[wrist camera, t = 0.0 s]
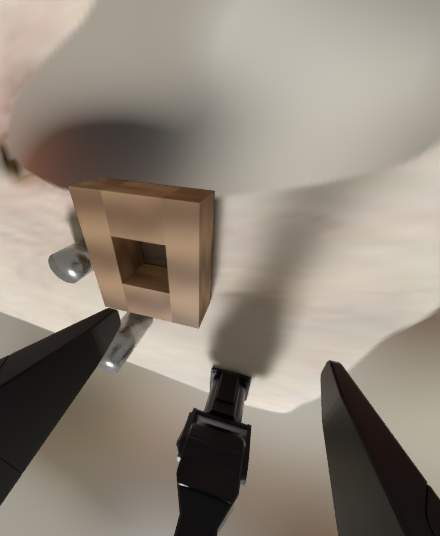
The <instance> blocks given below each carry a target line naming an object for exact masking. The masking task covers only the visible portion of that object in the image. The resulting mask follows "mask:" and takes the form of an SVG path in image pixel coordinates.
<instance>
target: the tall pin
mask: <svg viewBox="0 0 440 536" xmlns="http://www.w3.org/2000/svg"><path fill="white" fill-rule="evenodd" d="M151 324H152V319H151V317H148V316H144V315H140V314H135V313H131V312H127V313H126V314H125V315H124V316H123V317H122V319H121V326H120V328H119V330H118V332H117V334H116V336H115V337H114V339H113V341H112V343H111V344H110V346H109V348H108V350H107V351H106V353H105V355H104V357H103V358H102V360H101V361H100V363H99V364H98V366H97V367H98V368H99V369H101V370H103V371H105V372H108V373H117V372H118V371H119V370H120V368H121V367H122V365H123V364H124V363H125V361H126V360H127V358H128V357H129V356H130V354H131V353H132V351H133V350H134V348H135V347H136V346H137V344H138V343H139V341H140V340H141V338H142V337H143V335H144V334H145V333H146V331H147V330H148V328H149V327H150V325H151Z"/></svg>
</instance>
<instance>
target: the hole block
mask: <svg viewBox="0 0 440 536" xmlns="http://www.w3.org/2000/svg"><path fill="white" fill-rule="evenodd" d="M68 187H69V191H70V194H71V197H72V200H73V204H74V207H75V210H76V213H77V217H78V220H79V223H80V226H81V230H82V233H83V236H84V239H85V242H86V246H87V249H88V252H89V255H90V259H91V262H92V265H93V268H94V272H95V275H96V278H97V281H98V285H99V288H100V291H101V294H102V298H103V301H104V304H105V306H106V307H110V308H114V309H119V310H123V311H127V312H131V313H135V314H140V315H144V316H148V317H152V318H157V319H161V320H165V321H169V322H173V323H178V324H182V325H186V326H190V327H195V328H199V327H200V324H201V322H202V320H203V318H204V315H205V313H206V311H207V308H208V306H209V304H210V290H211V266H212V242H213V219H214V195H215V191H212V190H203V189H194V188H185V187H177V186H168V185H160V184H152V183H143V182H135V181H126V180H118V179H109V178H101V179H97V180H92V181H89V182H84V183H79V184H75V185H71V186H68ZM141 241H142V242H148V243H154V244H160V245H165V246H166V257H167V268H166V267H161V266H155V265H150V264H145V263H144V259H143V253H142V246H141Z"/></svg>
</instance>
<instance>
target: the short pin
mask: <svg viewBox="0 0 440 536" xmlns="http://www.w3.org/2000/svg"><path fill="white" fill-rule="evenodd" d="M48 262H49V266H50V268H51V269H52V271H53V272H54V273H55V275H56V276H58V277H59V278H60V279H62V280H63V281H65V282H68V283H76V282H77V281H79V280H80V279H81V278H83V277H84V276H86V275H87V274H89V273H90V272H91V271H93V270H94V268H93V265H92V262H91V259H90V255H89V252H88V249H87V246H86V242H85V240H80V241H78V242H76V243H74V244H72V245H70V246H68V247H66V248H64V249H62V250H60V251H58V252H56V253H54V254H52V255H51V256H50V257H49V259H48Z"/></svg>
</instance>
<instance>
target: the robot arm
mask: <svg viewBox="0 0 440 536" xmlns="http://www.w3.org/2000/svg"><path fill="white" fill-rule="evenodd" d="M120 326H121V320H120V317H119V313H118V311H117V310H116V309H111V308H107V309H105V310H103V311H101V312H98V313H96V314H94V315H92V316H90V317H88V318H86V319H84V320H82V321H80V322H77V323H75V324H73V325H71V326H69V327H67V328H65V329H63V330H61V331H58V332H56V333H54V334H52V335H50V336H48V337H46V338H44V339H42V340H40V341H37V342H35V343H33V344H31V345H29V346H27V347H25V348H23V349H21V350H19V351H16V352H14V353H12V354H11V355H8V356H6V357H4V358H1V359H0V505H1V504H2V502H3V501H4V499H5V498H6V497H7V495H8V494H9V492H10V491H11V489H12V488H13V487H14V485H15V484H16V482H17V481H18V479H19V478H20V477H21V475H22V473H23V472H24V471H25V469H26V468H27V466H28V465H29V463H30V462H31V460H32V459H33V458H34V456H35V455H36V453H37V452H38V450H39V449H40V447H41V446H42V445H43V443H44V442H45V440H46V439H47V437H48V436H49V435H50V433H51V432H52V430H53V429H54V427H55V426H56V425H57V423H58V422H59V420H60V419H61V417H62V416H63V414H64V413H65V412H66V410H67V409H68V407H69V406H70V404H71V403H72V402H73V400H74V399H75V397H76V396H77V394H78V393H79V392H80V390H81V388H82V387H83V386H84V384H85V383H86V381H87V380H88V379H89V377H90V375H91V374H92V373H93V371H94V370H95V369H96V367H97V366H98V364H99V363H100V361H101V360H102V358H103V357H104V355H105V353H106V351H107V350H108V348H109V346H110V344H111V343H112V341H113V339H114V337H115V336H116V334H117V332H118V330H119V328H120ZM250 382H251V379H250V378H249V377H246V376H243V375H239V374H235V373H231V372H228V371H224V370H220V369H216V368H212V369H211V378H210V392H209V396H208V399H207V403H206V406H205V410H204V411H201V410H197V408H194V409H193V411H192V412H190V413H189V416H188V419H187V422H186V424H185V427H184V429H183V431H182V432H181V434H180V436H179V438H178V441H177V444H176V445H177V448H178V455H177V462H179V466H178V469H177V487H178V498H179V510H180V515H179V519H178V523H177V526H176V530H175V534H174V536H217V535H218V533H219V532H220V530H221V529H222V527H223V526H224V524H225V522H226V521H227V519H228V517H229V516H230V514H231V513H232V511H233V509H234V507H235V504H236V501H237V498H238V494H239V488H240V485H243V486H244V485H245V482H246V477H247V470H248V462H249V450H250V437H251V425H249V424H248V425H246V424H243V423H241V421H242V414H243V406H244V401H245V400H246V399H247V394H248V390H249V386H250ZM321 406H322V424H323V432H324V439H325V446H326V453H327V460H328V467H329V474H330V481H331V488H332V495H333V502H334V509H335V516H336V523H337V530H338V536H440V499H439V498H438V496H437V495H436V493H435V492H434V491H433V489H432V488H431V487H430V486H429V485H427V481H426V480H425V478H424V477H423V476H422V474H421V473H420V472H419V470H418V469H417V467H416V466H415V465H414V463H413V462H412V461H411V459H410V458H409V456H408V455H407V454H406V452H405V451H404V450H403V448H402V447H401V445H400V444H399V443H398V441H397V440H396V439H395V437H394V436H393V434H392V433H391V432H390V430H389V429H388V427H387V426H386V425H385V423H384V422H383V421H382V419H381V418H380V416H379V415H378V414H377V412H376V411H375V410H374V408H373V407H372V405H371V404H370V403H369V401H368V400H367V399H366V397H365V396H364V395H363V393H362V392H361V390H360V389H359V388H358V386H357V385H356V383H355V382H354V381H353V380H352V378H351V377H350V375H349V374H348V372H347V371H346V370H345V368H344V367H343V366H342V364H341V363H339V362H335V361H331V360H329V361H328V362H327V363H326V365H325V367H324V369H323V371H322V373H321Z"/></svg>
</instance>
